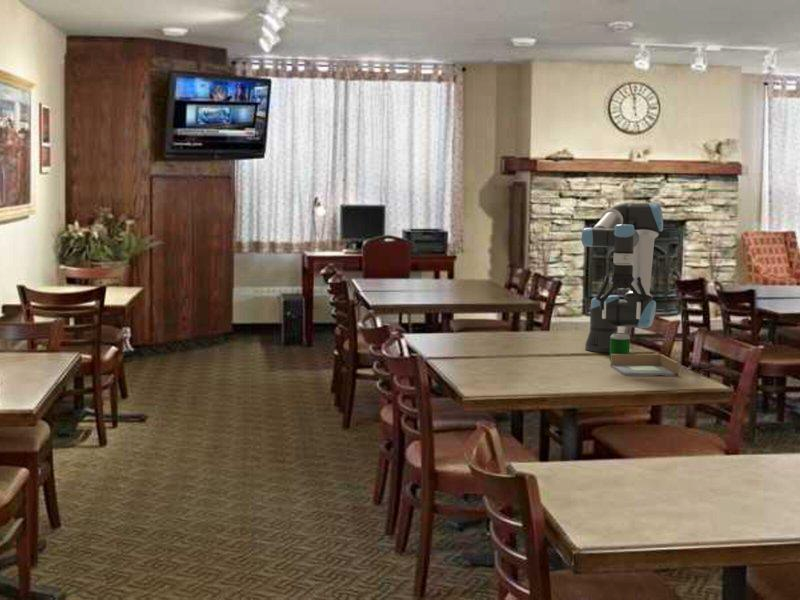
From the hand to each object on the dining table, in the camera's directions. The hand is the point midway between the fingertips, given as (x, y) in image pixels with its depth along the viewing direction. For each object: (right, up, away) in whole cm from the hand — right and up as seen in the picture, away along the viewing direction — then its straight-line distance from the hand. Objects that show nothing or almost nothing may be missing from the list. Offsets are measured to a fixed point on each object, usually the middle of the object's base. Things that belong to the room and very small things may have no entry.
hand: (621, 318), depth 414 cm
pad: (+6, -20, -14) cm, 24 cm away
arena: (+6, -20, -14) cm, 24 cm away
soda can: (0, -18, +2) cm, 18 cm away
